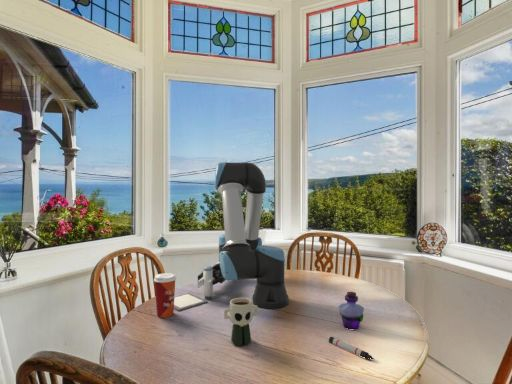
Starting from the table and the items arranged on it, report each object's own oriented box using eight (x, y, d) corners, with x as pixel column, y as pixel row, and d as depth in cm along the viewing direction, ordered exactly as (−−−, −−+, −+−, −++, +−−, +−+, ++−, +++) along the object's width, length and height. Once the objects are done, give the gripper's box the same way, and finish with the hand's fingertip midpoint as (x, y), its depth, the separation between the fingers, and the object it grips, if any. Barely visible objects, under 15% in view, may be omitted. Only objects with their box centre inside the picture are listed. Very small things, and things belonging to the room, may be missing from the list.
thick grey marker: (214, 298, 146) (214, 267, 146) (207, 300, 143) (206, 269, 143) (209, 296, 149) (209, 265, 149) (201, 298, 146) (201, 267, 146)
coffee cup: (170, 319, 123) (170, 279, 123) (149, 318, 125) (149, 278, 125) (180, 311, 132) (179, 273, 131) (160, 309, 133) (160, 272, 133)
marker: (328, 343, 106) (328, 337, 106) (332, 341, 107) (332, 335, 107) (372, 364, 94) (372, 357, 94) (376, 361, 95) (376, 354, 95)
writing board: (207, 302, 141) (207, 300, 141) (178, 311, 132) (178, 309, 132) (189, 294, 151) (189, 292, 151) (160, 302, 142) (160, 300, 142)
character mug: (226, 350, 101) (226, 307, 101) (221, 339, 108) (221, 299, 108) (261, 345, 104) (261, 303, 104) (254, 335, 111) (254, 296, 111)
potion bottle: (365, 333, 112) (366, 297, 112) (339, 331, 114) (339, 296, 113) (362, 322, 121) (362, 289, 120) (337, 320, 122) (337, 288, 122)
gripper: (237, 279, 162) (223, 295, 139) (203, 277, 165) (184, 292, 142) (237, 263, 162) (223, 277, 139) (203, 261, 165) (184, 274, 142)
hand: (203, 284), depth 141 cm, fingers closed on thick grey marker, 4 cm apart
